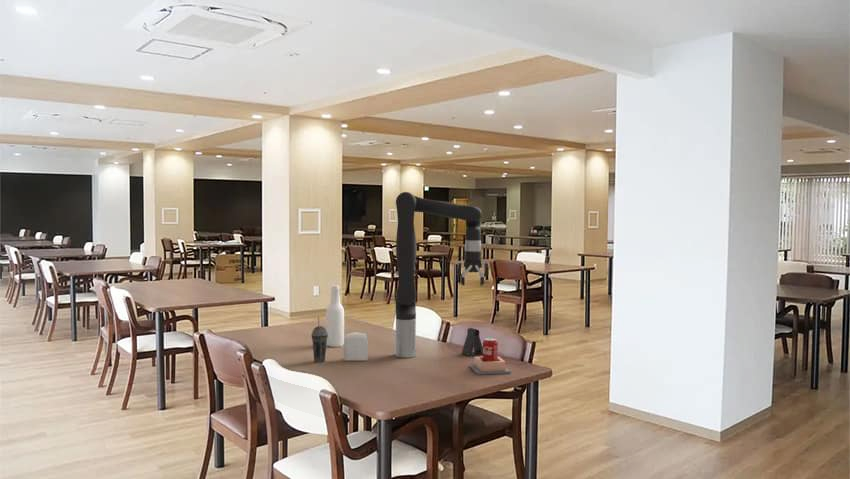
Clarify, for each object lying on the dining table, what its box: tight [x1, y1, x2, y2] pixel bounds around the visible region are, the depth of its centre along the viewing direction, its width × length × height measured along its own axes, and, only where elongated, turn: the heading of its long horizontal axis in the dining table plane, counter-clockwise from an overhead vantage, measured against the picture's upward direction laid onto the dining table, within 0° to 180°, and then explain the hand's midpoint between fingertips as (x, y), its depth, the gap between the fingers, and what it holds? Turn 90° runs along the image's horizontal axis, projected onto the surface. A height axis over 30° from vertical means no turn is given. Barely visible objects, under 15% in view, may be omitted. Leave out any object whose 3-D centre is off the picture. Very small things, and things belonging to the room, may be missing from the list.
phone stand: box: [461, 327, 483, 357], centre depth 283 cm, size 9×6×12 cm, turn 118°
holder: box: [469, 355, 512, 376], centre depth 254 cm, size 14×14×4 cm
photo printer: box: [344, 331, 369, 362], centre depth 269 cm, size 10×4×12 cm, turn 89°
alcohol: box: [325, 284, 345, 348], centre depth 299 cm, size 9×9×30 cm
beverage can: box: [482, 337, 499, 362], centre depth 254 cm, size 6×6×12 cm
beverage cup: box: [311, 316, 328, 364], centre depth 265 cm, size 7×7×20 cm
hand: (472, 285), depth 277 cm, fingers open, 8 cm apart
